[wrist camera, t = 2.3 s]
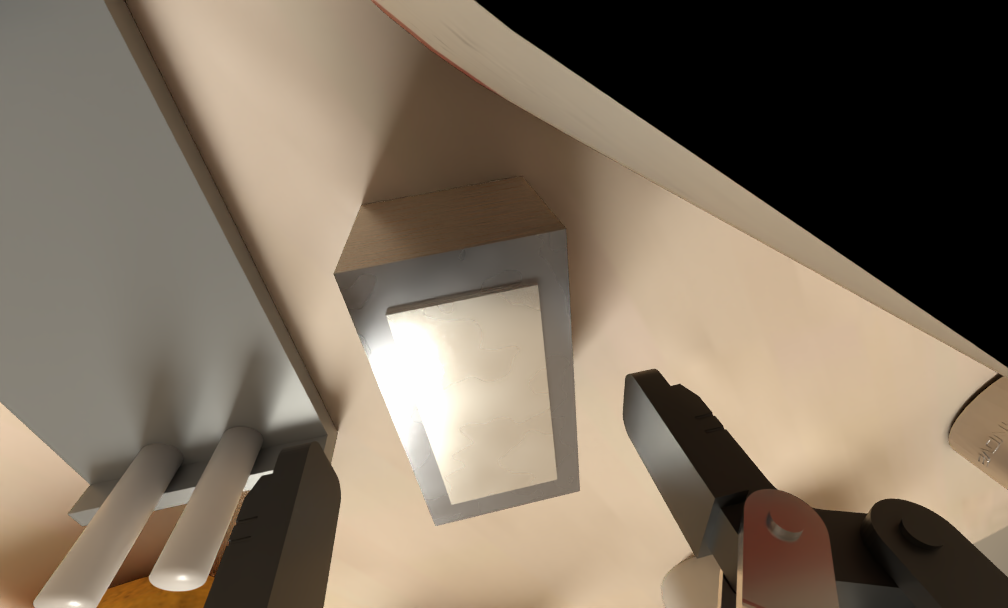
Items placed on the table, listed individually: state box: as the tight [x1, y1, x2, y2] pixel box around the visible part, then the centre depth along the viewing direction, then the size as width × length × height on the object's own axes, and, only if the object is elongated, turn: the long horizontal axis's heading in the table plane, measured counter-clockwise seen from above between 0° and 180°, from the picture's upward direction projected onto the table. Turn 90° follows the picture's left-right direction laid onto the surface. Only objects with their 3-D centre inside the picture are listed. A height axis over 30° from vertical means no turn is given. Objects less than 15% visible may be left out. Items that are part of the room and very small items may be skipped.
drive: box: [334, 176, 580, 526], centre depth 14 cm, size 5×10×5 cm, turn 7°
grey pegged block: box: [0, 0, 338, 608], centre depth 10 cm, size 9×17×6 cm, turn 6°
